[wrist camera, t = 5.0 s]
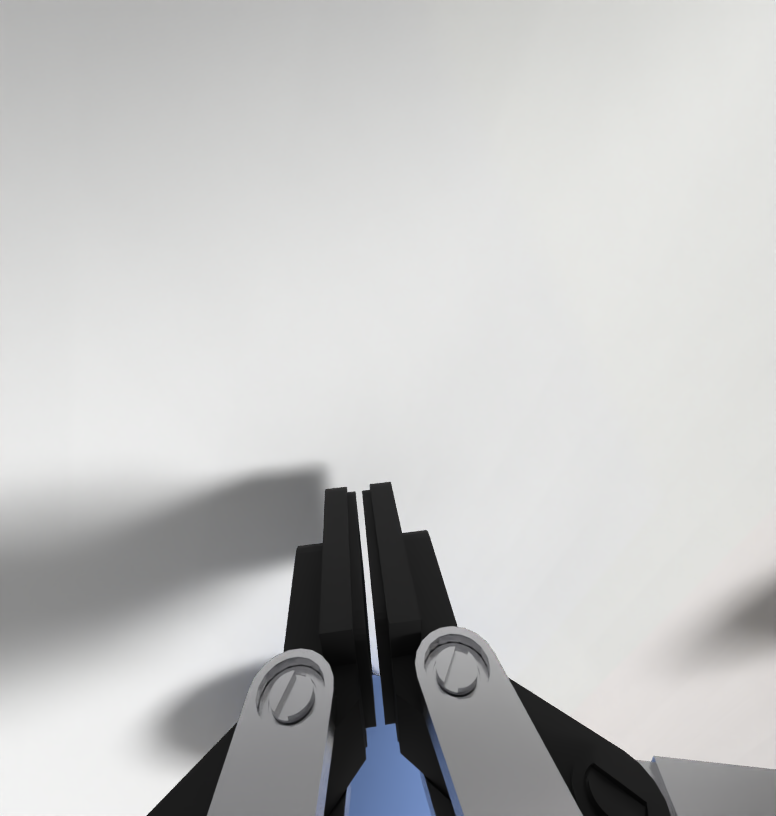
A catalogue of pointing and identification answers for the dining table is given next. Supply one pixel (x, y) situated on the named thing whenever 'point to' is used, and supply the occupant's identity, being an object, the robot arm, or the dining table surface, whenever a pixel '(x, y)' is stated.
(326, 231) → the dining table surface
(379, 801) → the ball
